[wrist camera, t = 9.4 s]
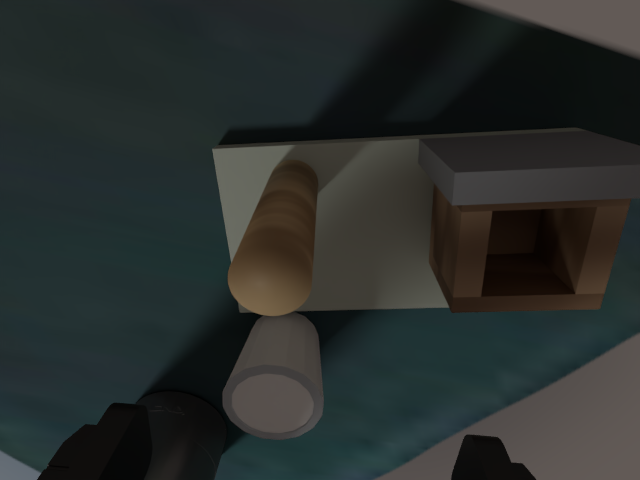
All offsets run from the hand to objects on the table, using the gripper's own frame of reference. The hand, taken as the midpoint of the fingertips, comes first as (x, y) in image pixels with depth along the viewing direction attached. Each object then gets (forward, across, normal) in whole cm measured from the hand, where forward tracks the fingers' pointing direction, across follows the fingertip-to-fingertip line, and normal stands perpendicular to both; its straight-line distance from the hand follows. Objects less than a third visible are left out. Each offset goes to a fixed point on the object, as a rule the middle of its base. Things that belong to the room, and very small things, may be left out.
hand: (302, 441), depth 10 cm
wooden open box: (+18, -11, 0) cm, 21 cm away
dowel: (+18, +2, -1) cm, 18 cm away
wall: (+18, -11, -5) cm, 21 cm away
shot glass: (+19, +2, +12) cm, 23 cm away
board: (+19, -5, +2) cm, 20 cm away
